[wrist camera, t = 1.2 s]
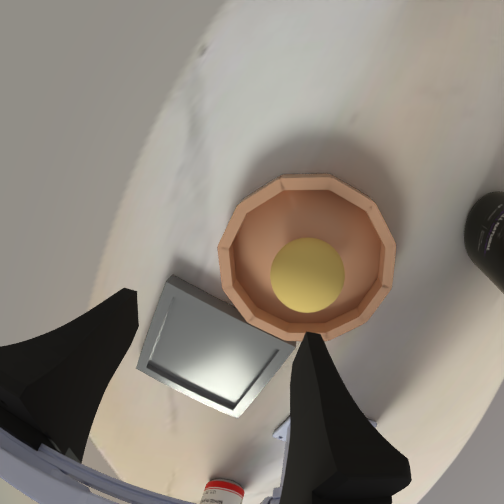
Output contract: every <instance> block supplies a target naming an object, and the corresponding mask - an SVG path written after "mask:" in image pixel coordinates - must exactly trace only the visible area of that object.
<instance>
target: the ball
mask: <svg viewBox="0 0 504 504" xmlns="http://www.w3.org/2000/svg"><path fill="white" fill-rule="evenodd" d="M270 279H271V285H272V288H273V291H274V293H275V294H276V296H277V298H278V299H279V300H280V301H281V302H282V303H283V304H284V305H286V306H287V307H289V308H290V309H292V310H295V311H298V312H304V313H310V312H317V311H320V310H322V309H324V308H326V307H328V306H329V305H330V304H332V303H333V302H334V301H335V300H336V299H337V297H338V296H339V294H340V293H341V291H342V288H343V285H344V280H345V270H344V265H343V261H342V259H341V257H340V255H339V254H338V252H337V251H336V250H335V249H334V248H333V247H332V246H331V245H330V244H328V243H326V242H325V241H322V240H320V239H316V238H308V237H307V238H299V239H296V240H293V241H291V242H289V243H288V244H286V245H285V246H284V247H282V248H281V249H280V251H279V252H278V253H277V254H276V256H275V258H274V260H273V262H272V266H271V271H270Z"/></svg>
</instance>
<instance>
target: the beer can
mask: <svg viewBox="0 0 504 504" xmlns="http://www.w3.org/2000/svg"><path fill="white" fill-rule="evenodd" d="M243 496H244V490H243V489H242V487H241V486H240V485H239V484H238V483H236V482H234V481H230V480H226V479H214V480H212V481H210V482H208V483H207V484H206V487H205V490H204V493H203V496H202V499H201V502H200V504H242V501H243Z"/></svg>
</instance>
